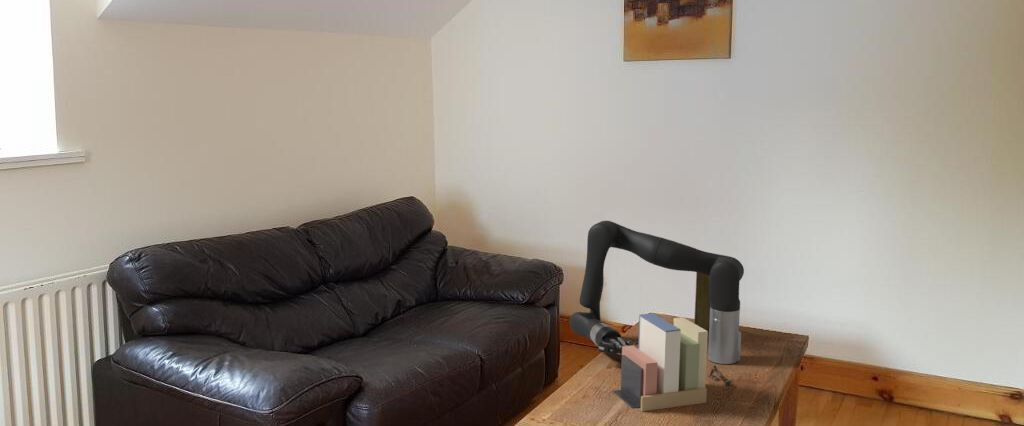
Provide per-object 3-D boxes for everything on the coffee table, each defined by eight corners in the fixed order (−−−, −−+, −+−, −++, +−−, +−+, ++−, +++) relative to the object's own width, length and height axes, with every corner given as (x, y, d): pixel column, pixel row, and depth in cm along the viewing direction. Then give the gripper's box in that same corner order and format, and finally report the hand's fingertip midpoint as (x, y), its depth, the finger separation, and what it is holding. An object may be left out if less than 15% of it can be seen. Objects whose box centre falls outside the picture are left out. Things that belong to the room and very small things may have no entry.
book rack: (680, 381, 256) (682, 317, 253) (709, 402, 241) (712, 333, 237) (616, 389, 250) (618, 323, 246) (642, 411, 234) (644, 341, 231)
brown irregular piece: (709, 373, 261) (714, 362, 258) (726, 391, 255) (731, 380, 253) (705, 374, 260) (709, 363, 257) (722, 392, 254) (727, 381, 252)
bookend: (623, 390, 249) (624, 354, 247) (642, 406, 237) (643, 368, 235) (613, 392, 248) (614, 355, 246) (631, 408, 236) (632, 370, 234)
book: (694, 325, 310) (696, 258, 306) (709, 326, 309) (712, 259, 305) (694, 339, 294) (697, 269, 290) (710, 341, 293) (713, 270, 289)
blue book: (651, 384, 254) (653, 313, 250) (677, 405, 239) (680, 329, 235) (636, 386, 252) (639, 314, 248) (663, 407, 237) (665, 330, 233)
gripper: (586, 328, 275) (610, 345, 259) (624, 324, 279) (649, 340, 263) (586, 350, 276) (609, 368, 260) (623, 346, 281) (648, 363, 265)
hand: (629, 354), depth 262 cm, fingers closed
